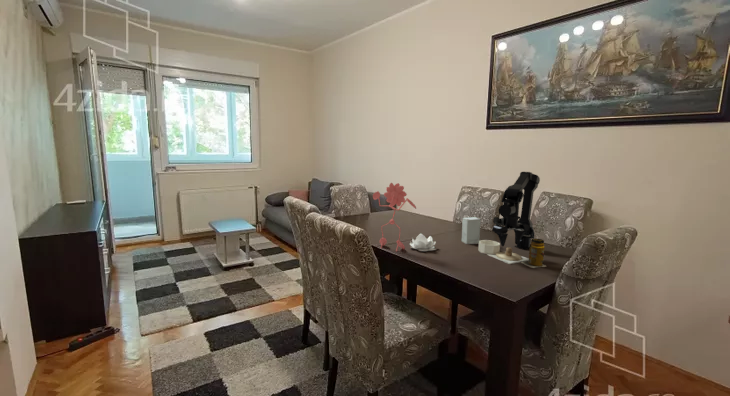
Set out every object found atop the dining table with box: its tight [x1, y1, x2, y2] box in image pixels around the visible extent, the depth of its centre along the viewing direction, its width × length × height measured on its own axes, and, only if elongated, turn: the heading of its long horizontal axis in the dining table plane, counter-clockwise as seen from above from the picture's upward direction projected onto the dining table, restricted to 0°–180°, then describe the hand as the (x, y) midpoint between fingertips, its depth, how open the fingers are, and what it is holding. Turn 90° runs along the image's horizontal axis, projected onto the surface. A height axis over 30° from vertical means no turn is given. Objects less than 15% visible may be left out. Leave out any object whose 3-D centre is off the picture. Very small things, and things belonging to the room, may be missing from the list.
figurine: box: [372, 182, 417, 252], centre depth 175 cm, size 15×26×35 cm, turn 57°
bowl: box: [478, 239, 501, 255], centre depth 173 cm, size 10×10×5 cm
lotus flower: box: [409, 233, 437, 252], centre depth 175 cm, size 14×15×9 cm
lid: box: [496, 246, 522, 261], centre depth 164 cm, size 12×12×4 cm
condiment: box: [520, 237, 547, 269], centre depth 154 cm, size 7×8×12 cm
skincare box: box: [461, 216, 481, 245], centre depth 187 cm, size 8×6×15 cm
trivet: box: [486, 254, 529, 265], centre depth 164 cm, size 14×14×1 cm
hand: (509, 245), depth 163 cm, fingers open, 9 cm apart
